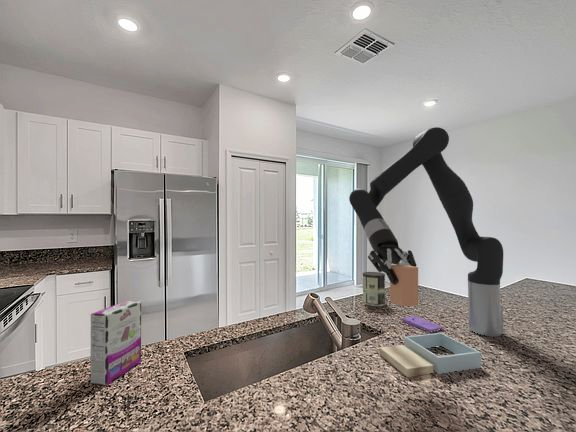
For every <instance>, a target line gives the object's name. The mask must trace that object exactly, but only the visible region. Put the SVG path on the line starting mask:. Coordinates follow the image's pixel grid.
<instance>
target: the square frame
mask: <svg viewBox="0 0 576 432" xmlns="http://www.w3.org/2000/svg"><path fill="white" fill-rule="evenodd" d="M403 338H404V339H403V343H404V344H403V345H404V346H405V347H407V348H408V349H410V350H411V351H413V352H414V353H416V354H417V355H419V356H420V357H422V358H423V359H425V360H426V361H428V362H429V363H431V364H432V365H433V370H434V371H433V372H435V373H436V372H437V373H436V374H437V375H441V374H443V373H444V374H448V373H449V372H450V373H455V372H454V371H457V372H462V370H464V371H469V369H470V370H475V369H482V352H481V351H479V350H477V349H475V348H473V347H472V346H469V345H467V344H465V343H463V342H461V341H459V340H457V339H454V338H453V337H451V336H450V335H447V334H445V333H443V332H434V333H425V334H419V335H418V334H417V335H409V336H403ZM436 346H442V347H444V348H446V349H448V350H450V351H452V352H453V353H455V354H453V353H452V354H447V355H440V356H439V355H437V354H435V353H433V352H432V351H430V349H432V348H431V347H436ZM442 347H441V348H442ZM426 348H429V350H428V349H426ZM444 348H443V349H444ZM446 349H445V350H446ZM448 350H447V351H448ZM450 351H449V352H450Z"/></svg>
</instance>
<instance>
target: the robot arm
mask: <svg viewBox="0 0 576 432" xmlns="http://www.w3.org/2000/svg"><path fill="white" fill-rule="evenodd" d="M449 142H450V136H449V133H448V131H446V129H444V128H442V127H438V126H436V127H431V128H427V129H426V130H424V131H423V132H420V133H419V134H417V135H416V136H415V138H414V139H413V141H412V148H410V150H408V151H407V152H406V153H405V154H404V155H403V156H401V157H399V158H398V159H397V160H395V161H394V162H393V163H392V164H390V165H389V166H387V167H386V168H385V169H384V170H382V171H381V172H380V173H379V174H377V176H375V177H374V178H373V179H372V180H371V181H370V183H369V188H370V190H369V192H368V191H367V190H366V189H365V188H361V187H360V188H356V189H353V190H352V191H351V193H350V194H349V198H348V199H349V200H348V201H349V203H350V206H351V208H353V210H354V212H355V214H356V215H357V217H358V219H359V222H360V224H361V226H362V228H363V230H364V232H365V236H366V238H367V241H368V242H369V244H370V246H371V248H372V250H370V253H369V254H368V256H367V258H368V260H369V261H370V262H371V264H372V265H373V267H374V268H375V269H376V270H377V272H379V273H384V274H385V275H386V276H387V278H388V280H389V282H391V283H392V284H393V285H396V284H397V283H398V281H399V280H398V278H397V276H396V274H395V272H394V270H393V269H392V266H391V265H410V266H414V267H418V265H417V263H416V260H415V256H414V254H413V252H412V250H407V251H404V250H402V248H400V245H399V242H398V239H397V237H396V236H395V233H394V232H393V231H392V229H391V227H390V226H389V224H388V223H387V222H386V220H385V219H384V217H383V216H382V214H381V213H380V212H379V210H378V206H379V205H380V203H382V201H383V199H384V198H385V196H386V195H387V194H388V193H390V192H391V191H392V190H393V189H395V188H396V187H397V186H398V185H399V184H400V183H401V182H403V181H404V179H406V178H407V177H408V176H409V175H410V174H411V173H413V172H414V171H415V170H416V169H418V168H419V167H420V166H422V168H424V170H425V172H426V174H427V175H428V178H429V179H430V182H431V184H432V186H433V188H434V190H435V192H436V194H437V196H438V199H439V202H440V203H441V205H442V208H443V209H444V211H445V213H446V215H447V217H448V218H449V221H450V223H451V225H452V227H453V230H454V232H455V234H456V237H457V242H458V244H459V247H460V249H461V252H462V254H463V255H464V257H465V258H466V259H467V260H469V261H471V262H475V263H477V265H476V269H475V270H474V271H473V270H472V271H470V272H468V273H467V296H468V297H467V299H468V300H467V302H468V303H467V304H468V310H467V311H468V330H469V329H470V330H471V332H472V331H473V333H474V332H475V334H477V333H478V334H477V335H480V334H481V336H484V335H485V336H484V337H491V338H492V337H494V338H495V337H496V338H497V337H500V336H502V335H504V309H503V308H504V307H503V304H502V305H501V279H502V277H503V272H504V247H503V245H502V243H501V241H500V240H499V239H498V238H496V237H491V236H481V235H479V233H478V231H477V229H476V227H475V225H474V222H473V213H474V200H473V197H472V195H471V193H470V190H469V189H468V186H467V185H466V183H465V181H464V180H463V179H462V178H461V177H460V176H459V175H458V174H457V173H456V172H455V171H454V170H453V169H452V168H451V167H450V166H449V164H448V163H447V162H446V161H445V158H444V156H443V154H442V152H443V151H445V150H446V148H447V147H448V145H449ZM470 330H469V331H470Z"/></svg>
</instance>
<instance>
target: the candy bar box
mask: <svg viewBox="0 0 576 432" xmlns="http://www.w3.org/2000/svg"><path fill="white" fill-rule="evenodd" d="M141 362H142V301H137V300H126V301H123V302H119V303H117V304H113V305H111V306H108V307H105V308H104V309H100V310H99V311H95V312H92V313H90V369H89V371H90V376H89V377H90V379H89V381H90V384H93V385H101V386H108V385H110V384H111V383H113V382H114V381H115V380H117V379H119V378H120V377H122V376H123V375H125V374H126V373H127V372H128V371H130V370H132V369H134V367H136V366H137V365H139V364H140V363H141Z"/></svg>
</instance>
